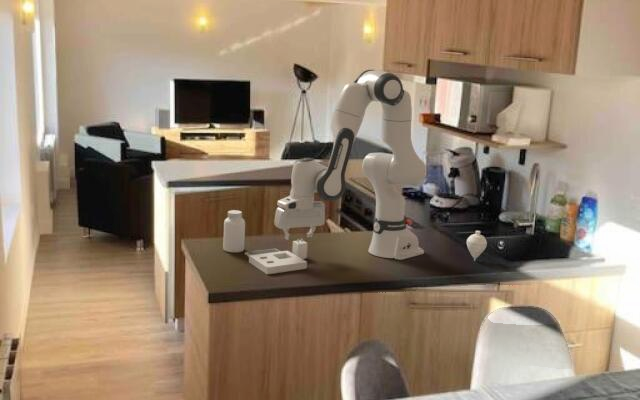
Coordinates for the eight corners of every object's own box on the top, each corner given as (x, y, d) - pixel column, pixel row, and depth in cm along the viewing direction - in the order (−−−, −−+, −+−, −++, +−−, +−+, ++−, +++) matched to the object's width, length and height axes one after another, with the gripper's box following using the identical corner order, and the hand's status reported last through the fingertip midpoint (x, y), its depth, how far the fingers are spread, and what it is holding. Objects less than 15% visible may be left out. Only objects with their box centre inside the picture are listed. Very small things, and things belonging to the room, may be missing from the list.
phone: (275, 251, 260) (275, 248, 259) (284, 257, 254) (284, 253, 254) (244, 255, 253) (244, 251, 252) (253, 261, 247) (253, 257, 247)
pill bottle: (229, 254, 252) (230, 215, 248) (219, 248, 258) (220, 210, 255) (248, 251, 256) (249, 213, 253) (237, 245, 263) (238, 208, 259)
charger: (301, 255, 256) (302, 237, 254) (306, 258, 253) (307, 239, 251) (291, 256, 254) (292, 238, 252) (297, 259, 251) (298, 241, 249)
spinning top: (474, 265, 257) (478, 234, 255) (460, 259, 263) (463, 229, 261) (488, 262, 261) (492, 232, 259) (474, 256, 268) (477, 227, 265)
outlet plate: (287, 256, 253) (287, 249, 252) (306, 268, 241) (307, 261, 241) (248, 262, 244) (249, 254, 244) (266, 274, 233) (267, 266, 232)
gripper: (320, 198, 256) (317, 234, 259) (273, 201, 245) (271, 238, 248) (329, 202, 251) (326, 238, 254) (282, 205, 240) (279, 242, 243)
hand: (298, 238), depth 251 cm, fingers open, 8 cm apart
